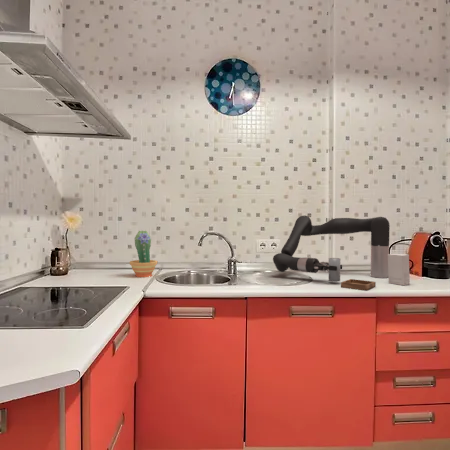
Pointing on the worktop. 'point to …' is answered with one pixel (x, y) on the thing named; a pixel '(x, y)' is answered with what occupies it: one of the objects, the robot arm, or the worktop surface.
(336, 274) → the grey upright block
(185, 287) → the worktop surface
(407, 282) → the skincare box
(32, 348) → the worktop surface
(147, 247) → the potted cactus
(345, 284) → the tray
